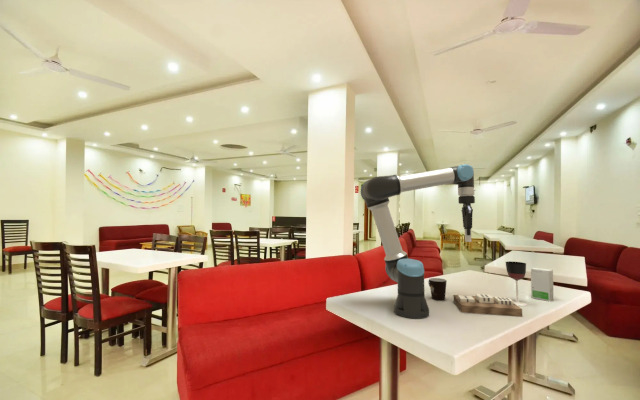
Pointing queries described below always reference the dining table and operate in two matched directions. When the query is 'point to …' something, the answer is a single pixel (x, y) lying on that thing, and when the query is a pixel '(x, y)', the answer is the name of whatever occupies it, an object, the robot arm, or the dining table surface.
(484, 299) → the tile two
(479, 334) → the dining table surface
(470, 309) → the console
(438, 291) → the coffee mug
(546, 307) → the dining table surface
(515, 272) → the wineglass
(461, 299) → the tile one
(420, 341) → the dining table surface
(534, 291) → the skincare box
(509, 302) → the tile three
